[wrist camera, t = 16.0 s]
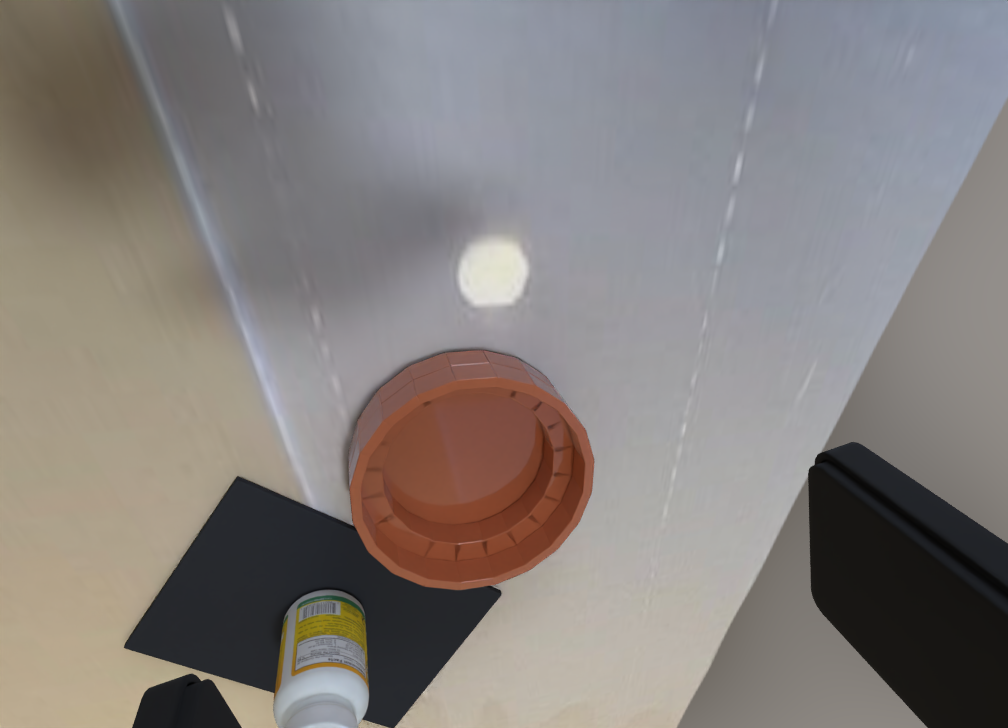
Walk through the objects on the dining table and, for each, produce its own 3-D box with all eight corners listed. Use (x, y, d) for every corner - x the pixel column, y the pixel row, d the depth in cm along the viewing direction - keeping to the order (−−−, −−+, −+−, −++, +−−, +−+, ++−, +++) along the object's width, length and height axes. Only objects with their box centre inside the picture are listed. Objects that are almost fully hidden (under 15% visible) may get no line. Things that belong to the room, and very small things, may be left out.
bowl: (304, 490, 40) (300, 536, 36) (435, 304, 37) (446, 330, 33) (487, 572, 45) (501, 618, 41) (611, 415, 43) (639, 449, 39)
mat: (125, 643, 41) (123, 648, 41) (237, 475, 38) (236, 479, 38) (393, 724, 49) (393, 728, 49) (500, 590, 46) (502, 594, 46)
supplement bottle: (322, 573, 42) (317, 698, 33) (382, 611, 44) (392, 738, 35) (264, 626, 42) (245, 762, 34) (326, 661, 45) (323, 797, 36)
